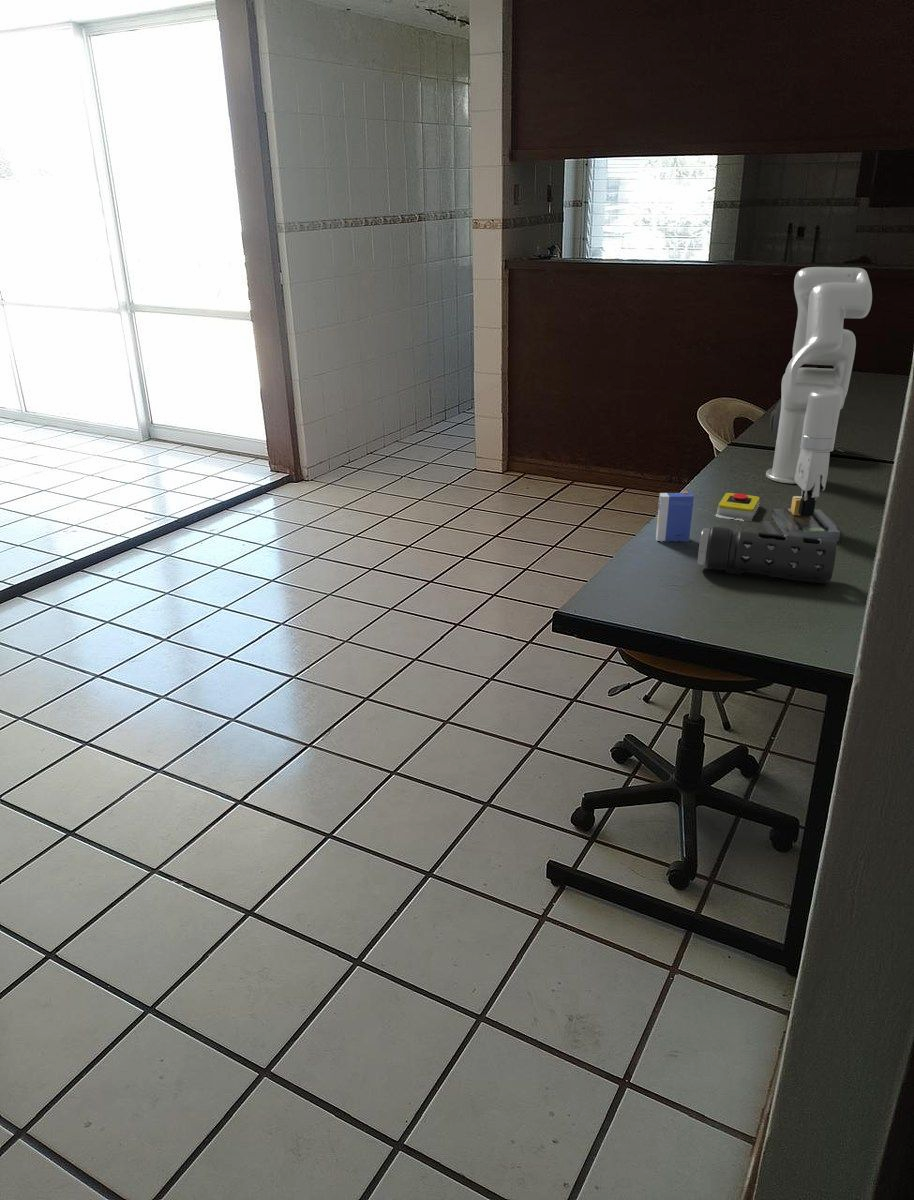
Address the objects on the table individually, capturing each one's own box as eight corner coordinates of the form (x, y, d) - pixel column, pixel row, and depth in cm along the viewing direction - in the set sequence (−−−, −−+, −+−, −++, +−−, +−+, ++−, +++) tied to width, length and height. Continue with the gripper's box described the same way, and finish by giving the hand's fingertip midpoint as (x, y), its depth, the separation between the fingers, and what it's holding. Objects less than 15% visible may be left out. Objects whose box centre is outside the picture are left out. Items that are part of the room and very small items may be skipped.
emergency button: (762, 490, 241) (752, 508, 229) (760, 506, 243) (750, 524, 231) (727, 486, 245) (716, 503, 233) (725, 501, 247) (714, 519, 235)
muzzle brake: (829, 593, 193) (837, 548, 188) (695, 577, 201) (700, 533, 197) (828, 576, 201) (836, 532, 197) (699, 560, 209) (704, 519, 205)
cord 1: (762, 526, 228) (763, 520, 228) (768, 526, 228) (769, 521, 228) (777, 547, 216) (778, 541, 215) (783, 547, 216) (784, 541, 215)
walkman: (686, 537, 222) (691, 491, 217) (688, 541, 220) (693, 495, 214) (654, 537, 222) (658, 491, 217) (656, 542, 220) (660, 495, 214)
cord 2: (822, 521, 231) (822, 516, 231) (827, 521, 231) (828, 516, 231) (832, 532, 224) (832, 527, 223) (837, 532, 224) (838, 527, 223)
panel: (771, 517, 234) (773, 506, 232) (818, 518, 233) (820, 507, 232) (788, 541, 219) (790, 529, 218) (838, 541, 219) (840, 529, 217)
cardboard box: (790, 511, 230) (793, 495, 228) (808, 511, 230) (810, 495, 228) (793, 515, 227) (796, 499, 226) (811, 515, 227) (814, 499, 225)
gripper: (792, 434, 224) (782, 504, 232) (811, 450, 211) (799, 524, 218) (823, 434, 224) (811, 505, 231) (843, 451, 210) (830, 525, 218)
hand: (805, 514), depth 225 cm, fingers closed
